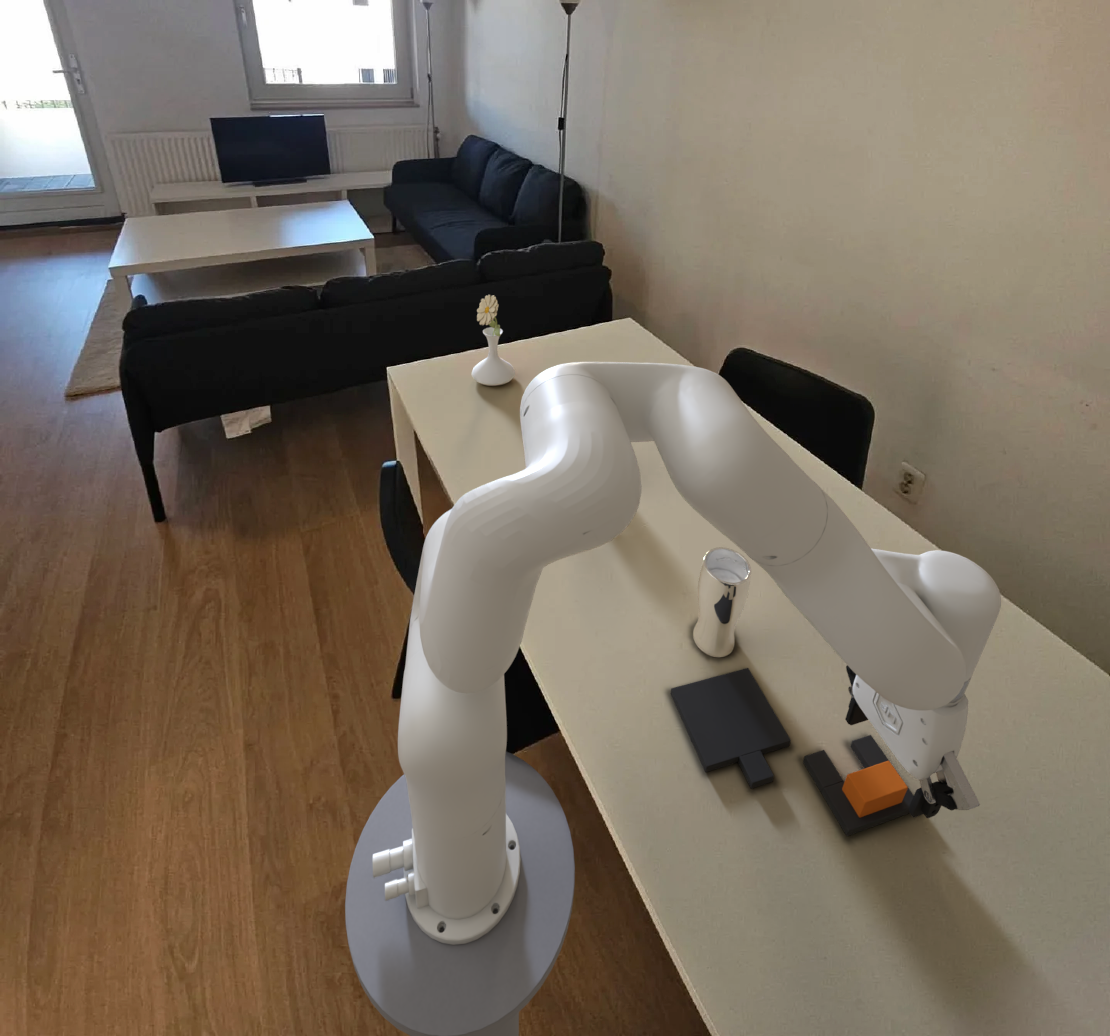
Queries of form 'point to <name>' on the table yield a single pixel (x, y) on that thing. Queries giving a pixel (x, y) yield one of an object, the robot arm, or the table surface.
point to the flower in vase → (491, 348)
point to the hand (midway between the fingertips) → (887, 762)
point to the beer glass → (721, 600)
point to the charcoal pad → (731, 724)
